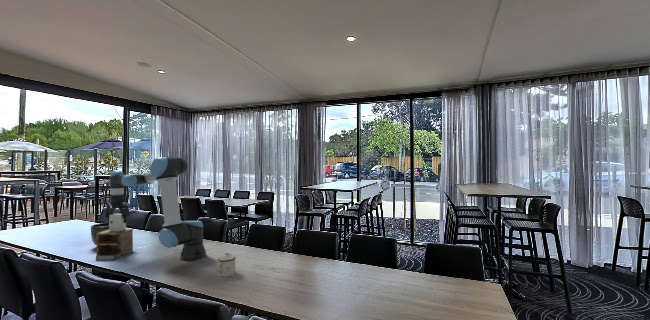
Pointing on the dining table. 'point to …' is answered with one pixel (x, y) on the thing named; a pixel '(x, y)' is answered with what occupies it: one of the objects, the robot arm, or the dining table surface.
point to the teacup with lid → (226, 265)
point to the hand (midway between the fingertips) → (117, 227)
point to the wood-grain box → (114, 241)
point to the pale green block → (116, 222)
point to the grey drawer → (110, 254)
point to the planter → (98, 230)
